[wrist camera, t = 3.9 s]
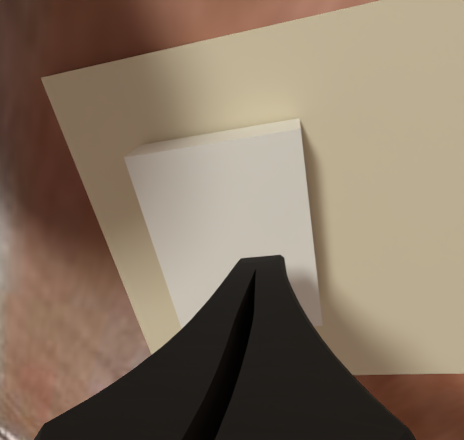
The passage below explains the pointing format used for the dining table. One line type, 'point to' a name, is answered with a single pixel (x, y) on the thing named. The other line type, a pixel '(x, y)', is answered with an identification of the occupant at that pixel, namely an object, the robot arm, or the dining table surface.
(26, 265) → the dining table surface
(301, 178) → the tile
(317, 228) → the mat
